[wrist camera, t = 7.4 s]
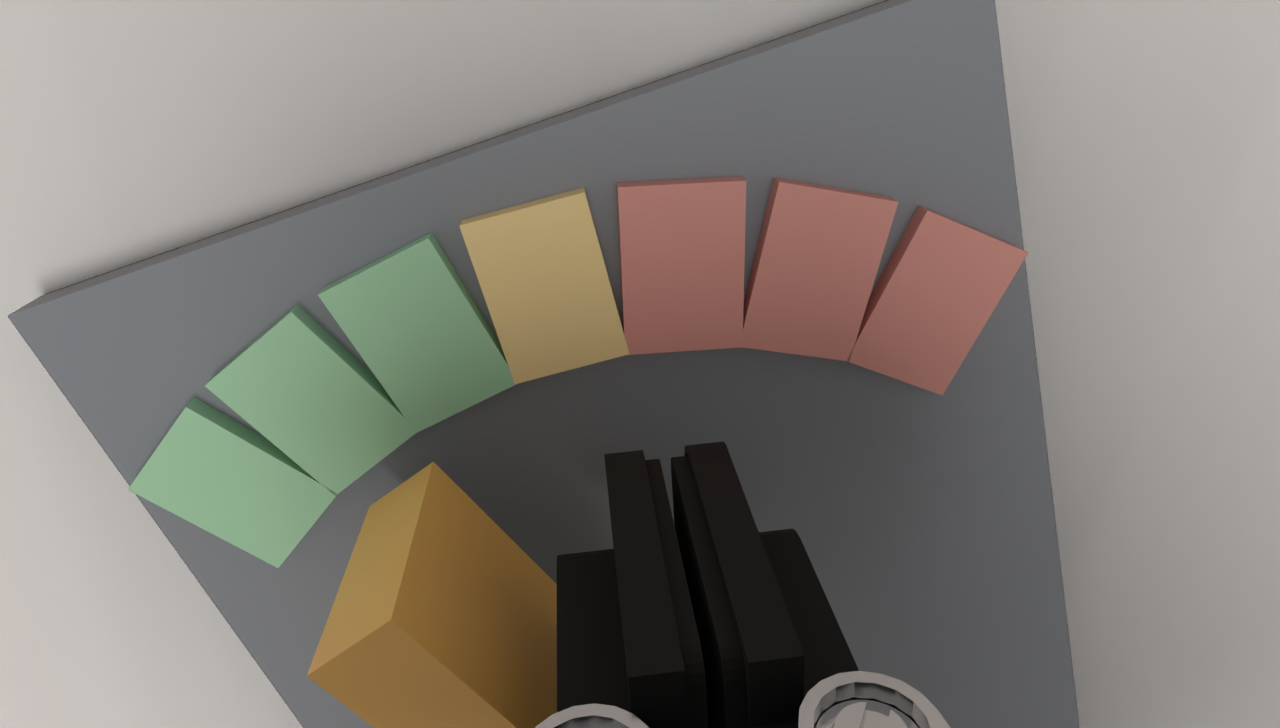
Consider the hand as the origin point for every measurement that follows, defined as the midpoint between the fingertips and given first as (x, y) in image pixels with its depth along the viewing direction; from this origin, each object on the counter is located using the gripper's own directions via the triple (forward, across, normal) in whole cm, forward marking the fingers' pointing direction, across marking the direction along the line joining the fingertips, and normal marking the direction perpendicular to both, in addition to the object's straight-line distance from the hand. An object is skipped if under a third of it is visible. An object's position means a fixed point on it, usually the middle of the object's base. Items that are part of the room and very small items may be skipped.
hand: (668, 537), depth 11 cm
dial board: (+2, 0, +5) cm, 5 cm away
